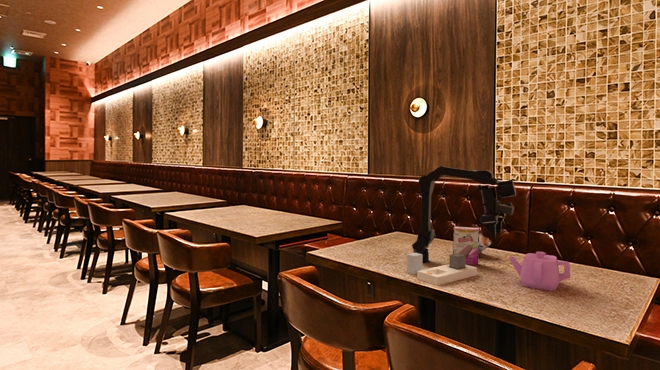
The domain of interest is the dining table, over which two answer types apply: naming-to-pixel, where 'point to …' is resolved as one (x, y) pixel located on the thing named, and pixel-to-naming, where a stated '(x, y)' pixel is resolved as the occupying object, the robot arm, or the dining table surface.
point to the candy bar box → (466, 243)
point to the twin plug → (457, 261)
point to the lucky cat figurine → (483, 243)
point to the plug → (414, 262)
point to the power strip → (445, 274)
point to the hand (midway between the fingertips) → (497, 236)
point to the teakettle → (541, 271)
